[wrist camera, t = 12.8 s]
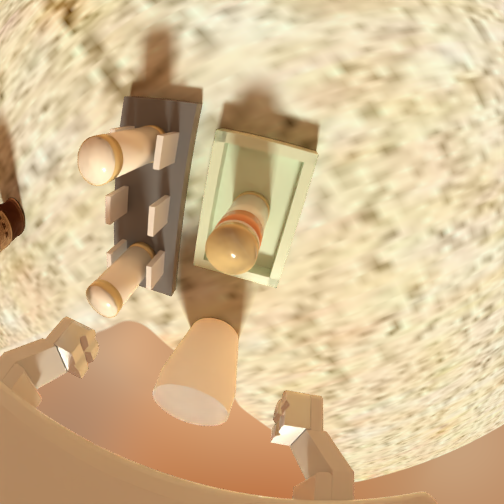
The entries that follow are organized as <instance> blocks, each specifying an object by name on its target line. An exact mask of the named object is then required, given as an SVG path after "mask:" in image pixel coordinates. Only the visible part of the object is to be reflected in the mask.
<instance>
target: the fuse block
mask: <svg viewBox="0 0 504 504" xmlns="http://www.w3.org/2000/svg"><path fill="white" fill-rule="evenodd" d="M201 108H202V104H199V103H192V102H185V101H176V100H168V99H158V98H146V97H124V103H123V109H122V116H121V124H120V127H119V128H113V129H110V133H113V132H118V131H123V130H128V129H133V128H139V127H143V126H148V125H156V126H159V127H160V128H162V129H163V130H164V131H165V134H160V135H157V141H156V148H155V155H154V162H152V163H149V164H146V165H144V166H141V167H139V168H137V169H135V170H132V171H130V172H128V173H126V174H123V175H121V176H119V177H117V178H115V191H113V192H111V193H109V194H108V195H106V224H112V223H113V222H114V247H113V248H111V249H110V250H109V251H108V252H107V269H108V268H109V267H110V266H111V265H112V264H113V263H114V262H115V261H116V260H117V259H118V258H119V257H120V256H121V255H122V254H123V253H124V252H125V251H126V250H127V249H128V248H129V247H130V246H131V245H132V244H133V243H135V242H144V243H146V244H148V245H149V246H150V247H151V248H152V249H153V250H154V252H155V254H156V255H155V256H154V257H153V259H152V260H151V261H150V262H149V263H148V264H147V266H146V277H145V278H144V279H143V281H142V282H141V283H140V284H139V286H142V287H145V288H146V289H148V290H154V291H157V292H160V293H163V294H166V295H169V296H172V294H173V293H174V291H175V290H176V280H177V269H178V259H179V249H180V240H181V232H182V223H183V216H184V208H185V201H186V194H187V187H188V180H189V174H190V168H191V162H192V156H193V150H194V144H195V139H196V133H197V128H198V123H199V118H200V113H201Z"/></svg>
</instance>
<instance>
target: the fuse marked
mask: <svg viewBox="0 0 504 504" xmlns="http://www.w3.org/2000/svg"><path fill="white" fill-rule="evenodd" d="M269 214H270V205H269V202H268V201H267V199H266V198H265V197H264V196H263V195H262V194H260V193H258V192H255V191H245V192H243V193H241V194H239V195H238V196H237V197H236V198H235V200H234V201H233V203H232V205H231V206H230V208H229V209H228V211H227V212H226V213H225V215H224V216H223V217H222V218H221V220H220V221H219V222H218V224H217V225H216V227H215V228H214V230H213V231H212V232H211V234H210V235H209V237H208V239H207V241H206V244H205V252H206V256H207V258H208V260H209V262H210V263H211V264H212V265H213V266H214V267H215V268H216V269H217V270H219V271H221V272H223V273H226V274H230V275H238V274H242V273H245V272H247V271H249V270H250V269H251V268H252V267H253V266H254V264H255V262H256V260H257V256H258V253H259V249H260V246H261V242H262V239H263V233H264V230H265V226H266V223H267V221H268V218H269Z"/></svg>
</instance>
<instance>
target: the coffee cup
mask: <svg viewBox="0 0 504 504" xmlns="http://www.w3.org/2000/svg"><path fill="white" fill-rule="evenodd" d="M24 228H25V222H24V216H23V213H22V210H21V208H20V206H19V204H18V202H16V200H15V199H14V198H10V199H8V200H7V201H6V202H5V203H2V204H0V252H1V251H2V250H3V249H5V248H6V247H7V246H8V245H9V244H10V243H11V242H12V241H13V240H14V239H15V238H16V237H17V236H19V235H20V234H21V233H22V232H23V231H24Z"/></svg>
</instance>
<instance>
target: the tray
mask: <svg viewBox="0 0 504 504" xmlns="http://www.w3.org/2000/svg"><path fill="white" fill-rule="evenodd" d="M317 158H318V153H317V151H314V150H310V149H307V148H304V147H300V146H297V145H293V144H289V143H285V142H282V141H278V140H274V139H270V138H266V137H262V136H258V135H253V134H249V133H244V132H240V131H235V130H230V129H225V128H221V129H216V132H215V137H214V142H213V147H212V152H211V158H210V163H209V168H208V174H207V179H206V185H205V191H204V197H203V203H202V209H201V215H200V221H199V228H198V234H197V241H196V248H195V255H194V263H193V265H195V266H198V267H202V268H205V269H209V270H212V271H216V272H220V273H223V272H221V271H219V270H217V269H216V268H215V267H214V266H213V265H212V264H211V263H210V262H209V260H208V258H207V256H206V252H205V244H206V241H207V239H208V237H209V235H210V234H211V232H212V231H213V230H214V228H215V227H216V225H217V224H218V222H219V221H220V220H221V218H222V217H223V216H224V215H225V213H226V212H227V211H228V209H229V208H230V206H231V205H232V203H233V201H234V200H235V198H236V197H237V196H238V195H239V194H241V193H243V192H245V191H255V192H258V193H260V194H262V195H263V196H264V197H265V198H266V199H267V201H268V202H269V205H270V214H269V218H268V221H267V223H266V226H265V230H264V233H263V239H262V242H261V246H260V249H259V253H258V256H257V260H256V262H255V264H254V266H253V267H252V268H251V269H250V270H249V271H247V272H245V273H242V274H238V275H230V274H227V275H230V276H234V277H238V278H241V279H245V280H249V281H252V282H256V283H260V284H263V285H267V286H271V287H275V288H277V285H278V282H279V279H280V276H281V273H282V270H283V267H284V264H285V261H286V258H287V255H288V252H289V249H290V246H291V243H292V240H293V237H294V234H295V230H296V227H297V224H298V221H299V218H300V215H301V211H302V208H303V205H304V202H305V199H306V195H307V192H308V189H309V185H310V182H311V179H312V175H313V172H314V169H315V165H316V162H317ZM223 274H226V273H223Z"/></svg>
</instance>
